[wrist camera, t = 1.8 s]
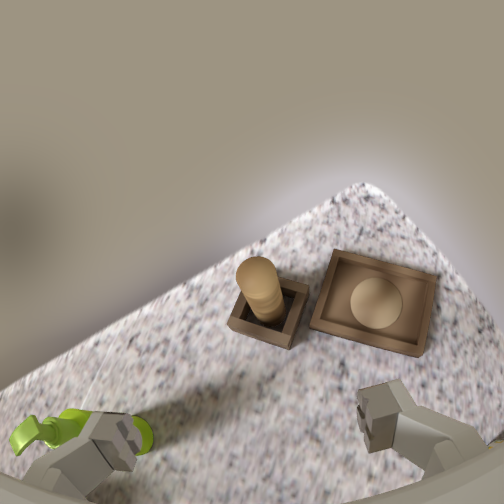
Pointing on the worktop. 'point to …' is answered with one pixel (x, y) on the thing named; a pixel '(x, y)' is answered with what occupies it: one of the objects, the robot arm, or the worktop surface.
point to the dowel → (262, 290)
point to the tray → (375, 303)
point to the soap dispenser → (65, 430)
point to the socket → (264, 334)
